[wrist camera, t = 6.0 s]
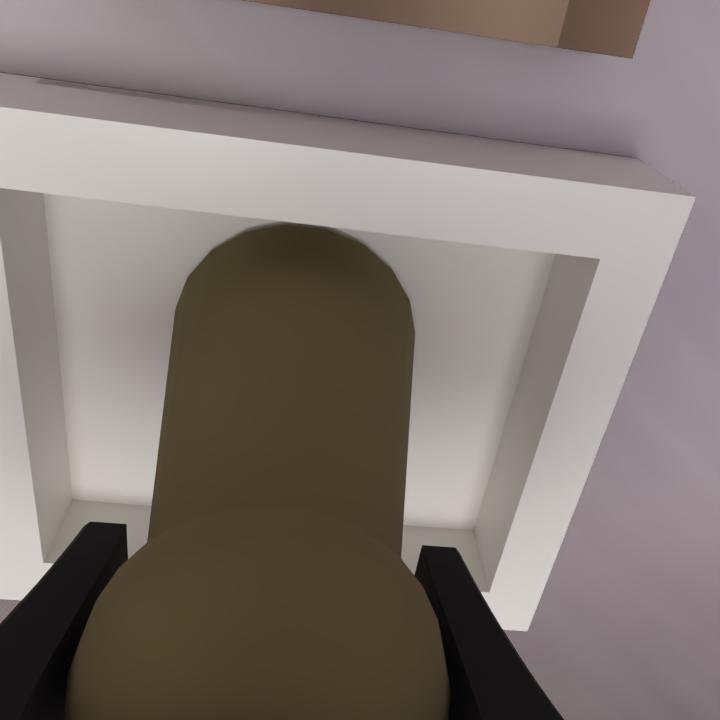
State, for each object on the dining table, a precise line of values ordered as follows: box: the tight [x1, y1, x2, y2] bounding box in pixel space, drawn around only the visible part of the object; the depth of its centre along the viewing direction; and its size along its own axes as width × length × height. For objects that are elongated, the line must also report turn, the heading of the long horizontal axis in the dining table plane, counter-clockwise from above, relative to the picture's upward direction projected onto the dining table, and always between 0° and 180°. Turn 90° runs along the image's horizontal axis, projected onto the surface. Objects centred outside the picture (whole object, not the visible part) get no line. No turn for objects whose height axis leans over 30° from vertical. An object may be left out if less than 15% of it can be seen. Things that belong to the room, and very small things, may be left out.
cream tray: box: [0, 73, 696, 631], centre depth 17 cm, size 15×13×3 cm
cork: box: [64, 225, 451, 720], centre depth 13 cm, size 6×6×11 cm
